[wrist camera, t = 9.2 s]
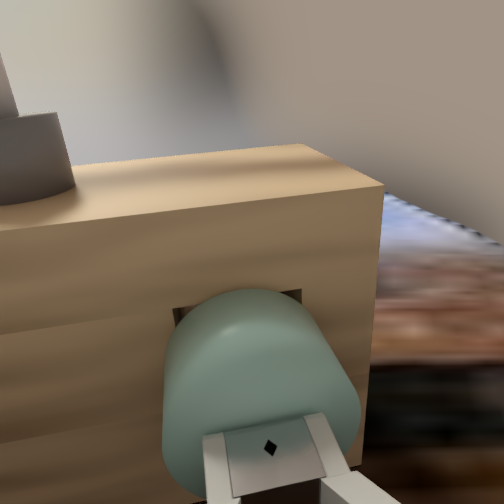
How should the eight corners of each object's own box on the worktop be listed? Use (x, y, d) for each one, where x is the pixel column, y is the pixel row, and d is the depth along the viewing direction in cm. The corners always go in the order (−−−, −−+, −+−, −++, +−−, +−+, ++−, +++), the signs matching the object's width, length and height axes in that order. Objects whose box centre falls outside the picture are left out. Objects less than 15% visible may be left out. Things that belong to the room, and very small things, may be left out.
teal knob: (355, 480, 11) (367, 338, 9) (178, 522, 10) (143, 377, 8) (261, 272, 22) (256, 190, 20) (175, 285, 22) (161, 201, 20)
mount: (361, 464, 16) (384, 185, 11) (-251, 604, 13) (-613, 304, 8) (303, 345, 23) (301, 143, 18) (-99, 416, 20) (-238, 196, 15)
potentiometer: (-9, 213, 11) (-75, 38, 9) (-44, 197, 13) (-104, 50, 11) (93, 185, 13) (57, 40, 11) (50, 176, 15) (13, 50, 13)
